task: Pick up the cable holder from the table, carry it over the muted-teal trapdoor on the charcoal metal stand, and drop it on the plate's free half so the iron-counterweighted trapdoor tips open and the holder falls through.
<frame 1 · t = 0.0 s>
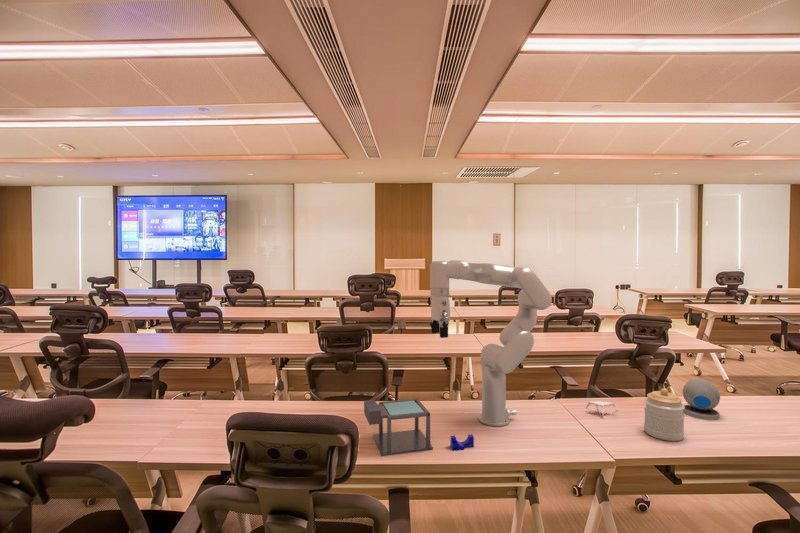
hand: (439, 335, 161), 37 cm above the table, tool pointing down, fingers open, 9 cm apart
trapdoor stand: (401, 442, 148), on the table
cable holder: (462, 448, 144), on the table
jar: (663, 434, 155), on the table
white legged frame: (603, 415, 175), on the table
webcam: (700, 414, 175), on the table
trapdoor: (393, 409, 147), point 12 cm above the table, hinge at 0.0°
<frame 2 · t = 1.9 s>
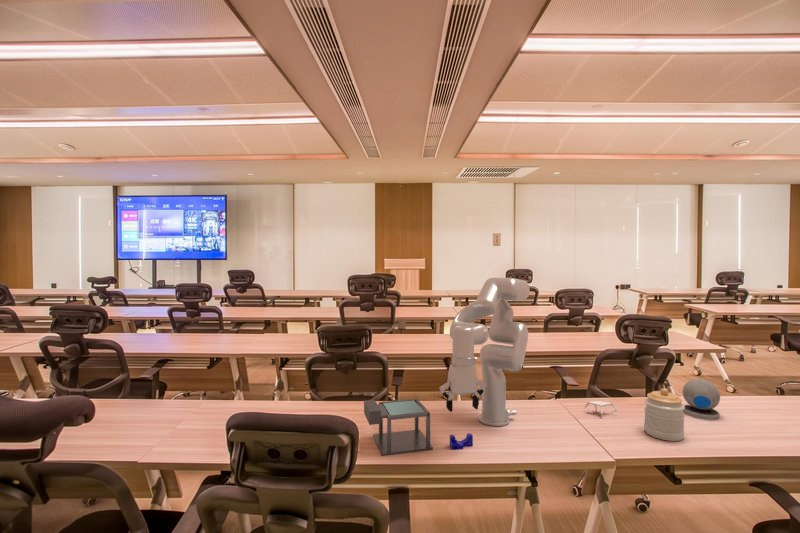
hand: (462, 409, 144), 14 cm above the table, tool pointing down, fingers open, 9 cm apart
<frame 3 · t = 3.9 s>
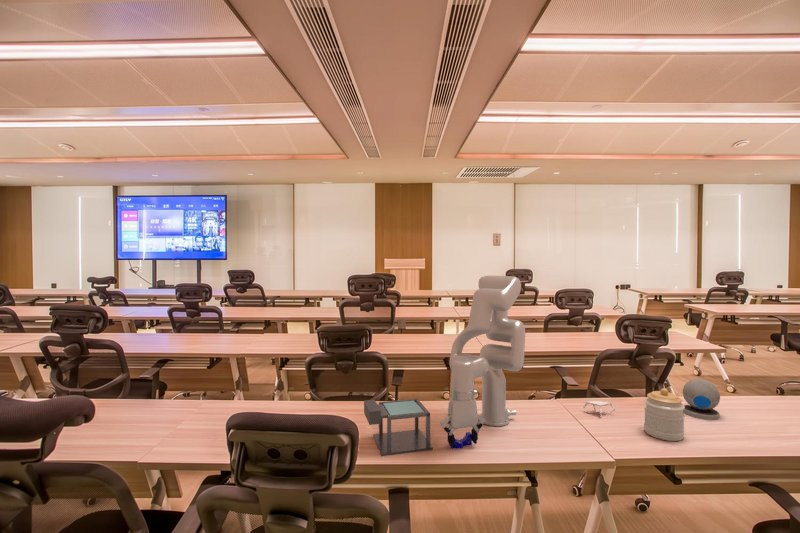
hand: (462, 443, 144), 2 cm above the table, tool pointing down, fingers closed on cable holder, 8 cm apart
cable holder: (460, 446, 146), on the table, touching gripper
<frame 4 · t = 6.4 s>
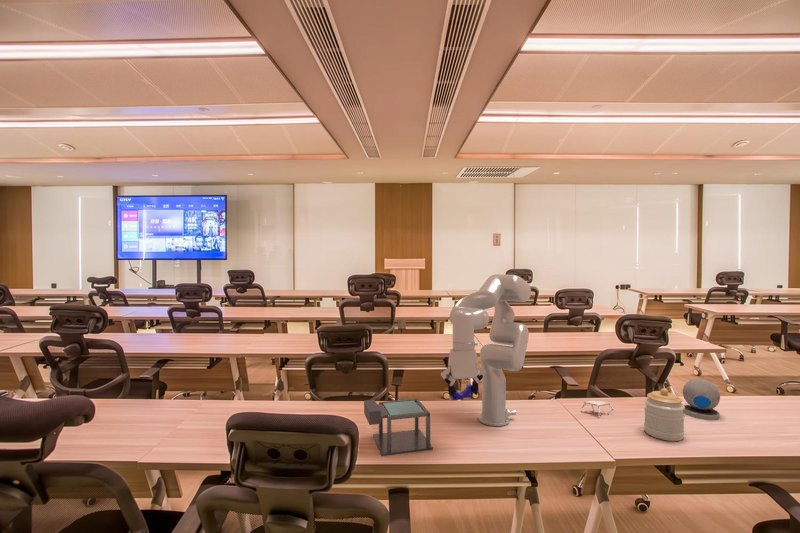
hand: (463, 394, 144), 19 cm above the table, tool pointing down, fingers closed on cable holder, 8 cm apart
cable holder: (461, 398, 146), point 17 cm above the table, touching gripper
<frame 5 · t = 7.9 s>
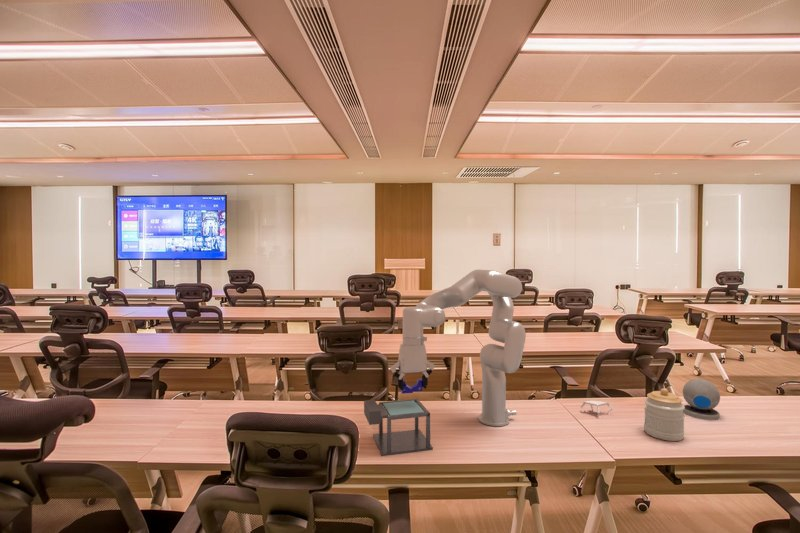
hand: (412, 388, 148), 20 cm above the table, tool pointing down, fingers closed on cable holder, 8 cm apart
cable holder: (411, 391, 150), point 18 cm above the table, touching gripper
when the fingers open (17 cm above the table, at t = 8.9 s): cable holder drops 14 cm, resting on trapdoor, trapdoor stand.
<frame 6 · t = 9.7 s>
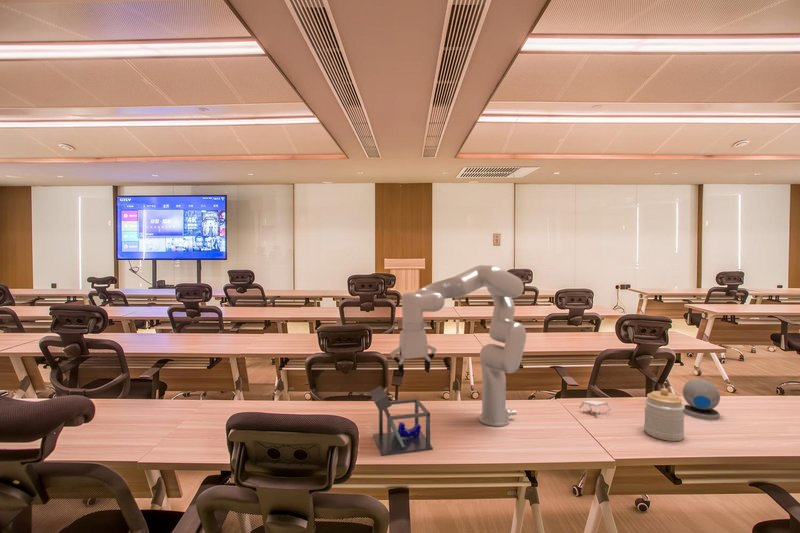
hand: (414, 373, 149), 25 cm above the table, tool pointing down, fingers open, 9 cm apart
cable holder: (408, 436, 150), point 1 cm above the table, touching trapdoor, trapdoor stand
trapdoor: (388, 416, 147), point 10 cm above the table, hinge at -65.6°, touching cable holder
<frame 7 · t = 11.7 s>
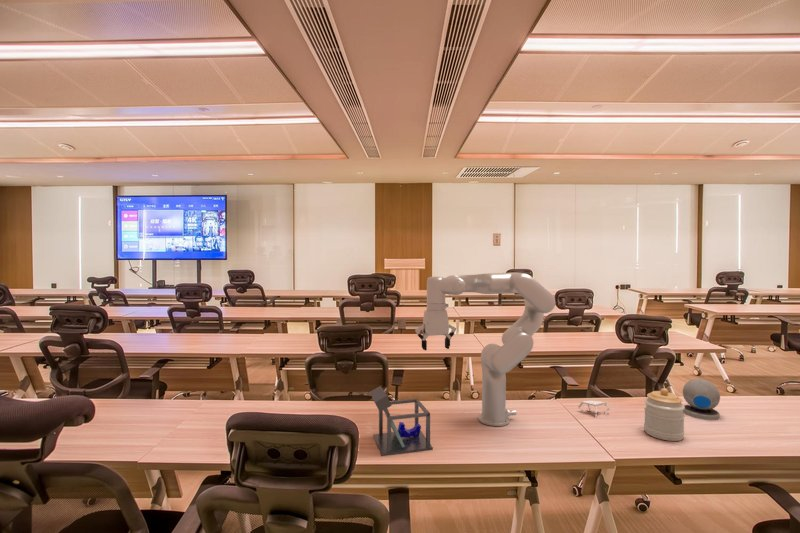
hand: (435, 349, 165), 30 cm above the table, tool pointing down, fingers open, 9 cm apart
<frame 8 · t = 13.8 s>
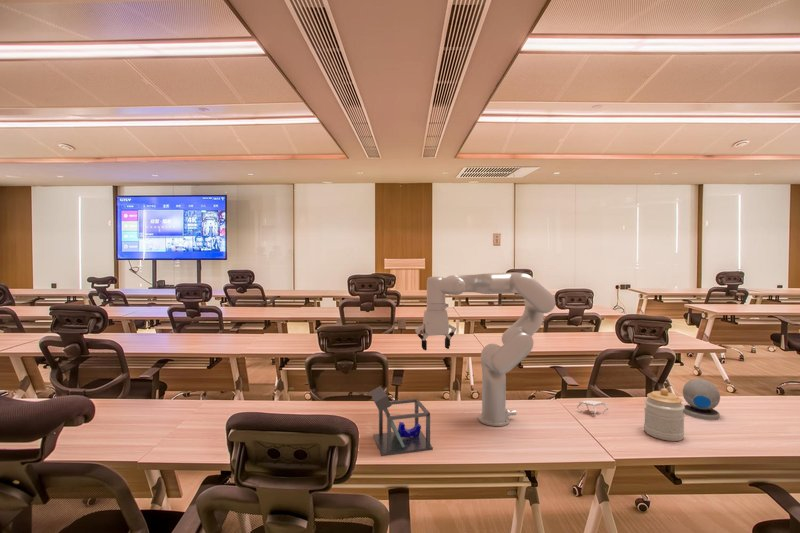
hand: (435, 349, 165), 30 cm above the table, tool pointing down, fingers open, 9 cm apart
at the end: cable holder point 1.4 cm above the table; the gripper is holding nothing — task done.
